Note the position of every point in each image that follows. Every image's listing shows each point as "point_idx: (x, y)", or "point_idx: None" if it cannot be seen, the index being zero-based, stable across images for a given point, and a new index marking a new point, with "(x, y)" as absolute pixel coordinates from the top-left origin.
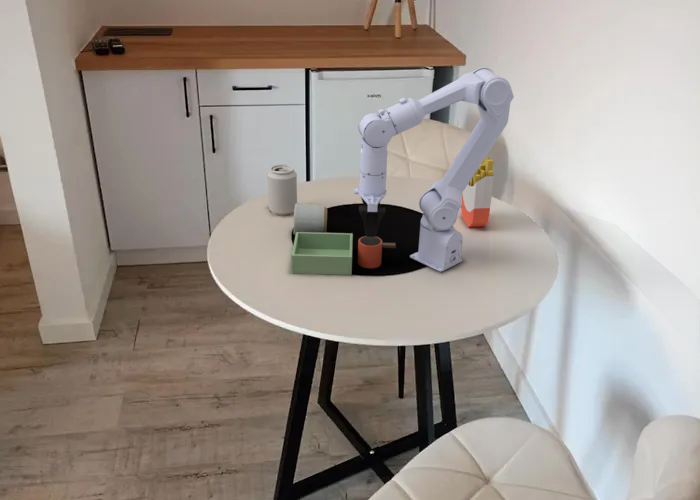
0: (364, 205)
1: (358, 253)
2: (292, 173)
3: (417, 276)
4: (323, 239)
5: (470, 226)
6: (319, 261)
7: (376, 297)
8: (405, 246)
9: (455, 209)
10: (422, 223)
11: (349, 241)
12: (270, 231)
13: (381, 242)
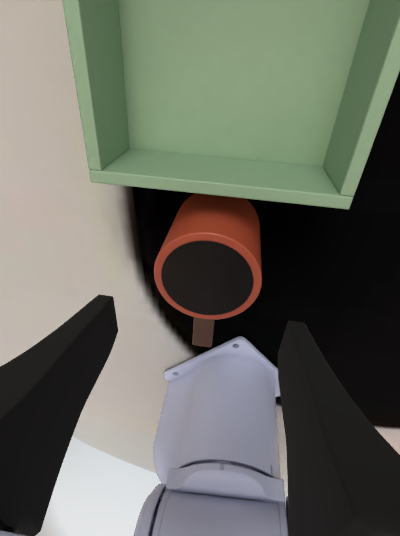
0: (313, 409)
1: (201, 207)
2: None
3: (141, 329)
4: (385, 9)
5: None
6: None
7: (6, 220)
8: (317, 338)
9: None
10: (215, 471)
11: (331, 178)
12: None
13: (192, 315)
